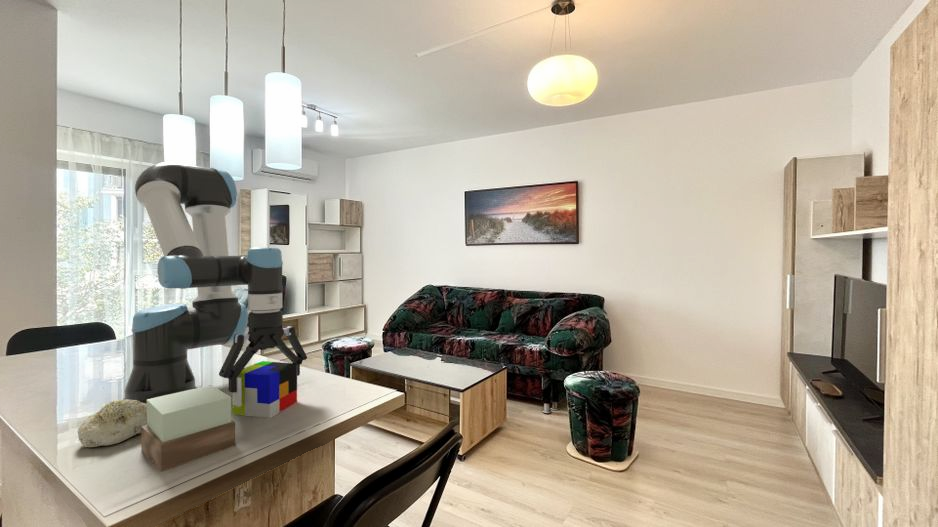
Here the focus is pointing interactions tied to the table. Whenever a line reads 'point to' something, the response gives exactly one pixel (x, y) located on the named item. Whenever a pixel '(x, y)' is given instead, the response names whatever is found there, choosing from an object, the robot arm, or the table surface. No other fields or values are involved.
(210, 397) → the sage slab
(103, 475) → the table surface
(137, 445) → the table surface
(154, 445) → the walnut slab
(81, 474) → the table surface
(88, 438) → the decorative item
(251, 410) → the puzzle toy
